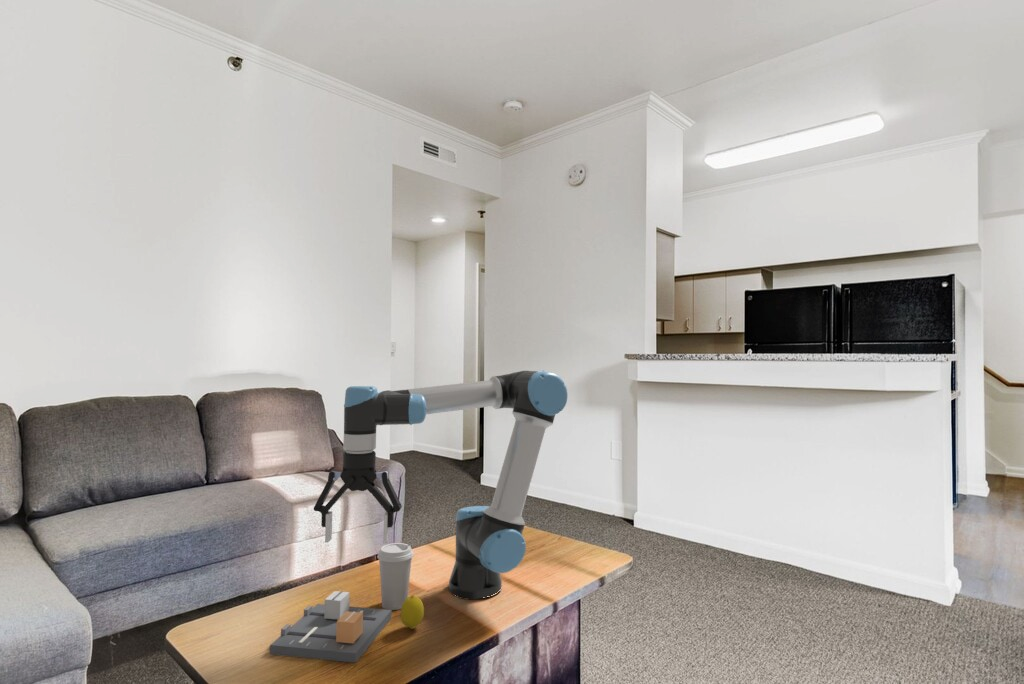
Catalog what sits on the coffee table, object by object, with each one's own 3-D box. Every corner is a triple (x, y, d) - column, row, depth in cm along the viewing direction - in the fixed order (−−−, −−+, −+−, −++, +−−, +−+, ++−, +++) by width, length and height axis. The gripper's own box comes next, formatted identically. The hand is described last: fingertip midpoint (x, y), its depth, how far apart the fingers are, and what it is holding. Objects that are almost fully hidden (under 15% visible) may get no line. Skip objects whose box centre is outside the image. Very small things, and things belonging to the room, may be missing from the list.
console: (391, 618, 138) (391, 604, 138) (355, 662, 118) (356, 646, 118) (317, 611, 141) (317, 598, 141) (269, 654, 121) (269, 638, 121)
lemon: (401, 623, 135) (402, 591, 136) (424, 623, 136) (425, 590, 136) (399, 635, 130) (399, 600, 130) (422, 634, 130) (423, 600, 131)
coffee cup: (412, 611, 142) (413, 553, 143) (374, 613, 141) (376, 554, 141) (412, 596, 152) (414, 541, 152) (377, 598, 150) (378, 542, 151)
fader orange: (362, 632, 126) (363, 611, 126) (353, 643, 121) (353, 621, 121) (346, 631, 127) (346, 610, 127) (336, 641, 122) (336, 620, 122)
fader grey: (349, 610, 137) (349, 591, 137) (339, 619, 132) (340, 599, 132) (334, 609, 138) (334, 590, 138) (324, 618, 133) (324, 598, 133)
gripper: (414, 448, 135) (412, 536, 134) (312, 447, 134) (309, 535, 133) (409, 453, 127) (407, 546, 127) (301, 452, 127) (298, 545, 126)
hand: (357, 540), depth 130 cm, fingers open, 13 cm apart
